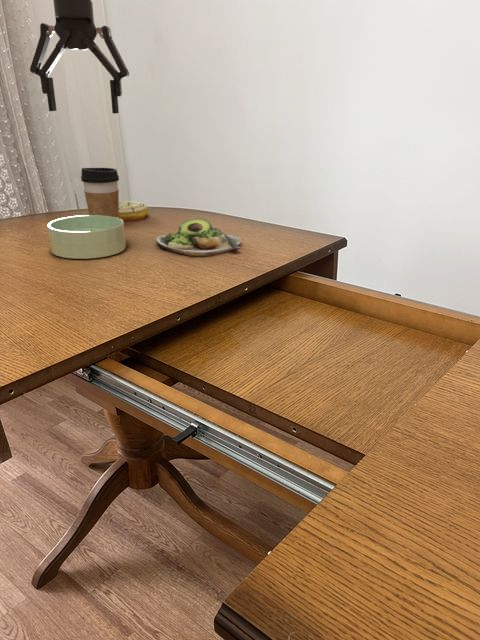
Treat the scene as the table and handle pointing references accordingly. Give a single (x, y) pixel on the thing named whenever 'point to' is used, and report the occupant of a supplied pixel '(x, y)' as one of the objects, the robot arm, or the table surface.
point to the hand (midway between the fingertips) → (84, 112)
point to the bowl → (86, 236)
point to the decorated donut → (132, 211)
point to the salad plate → (198, 239)
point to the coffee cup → (101, 191)
